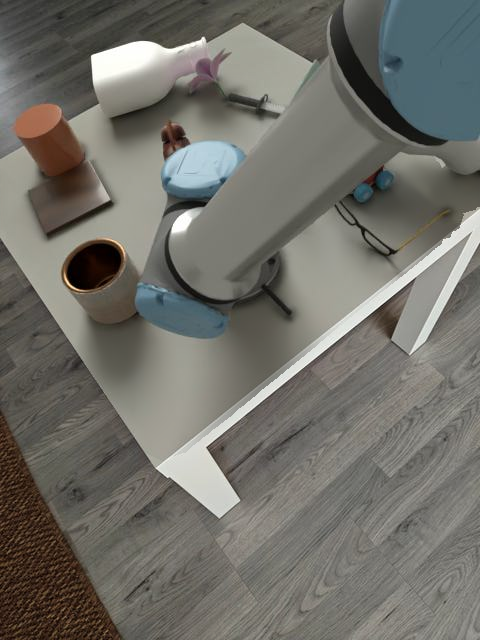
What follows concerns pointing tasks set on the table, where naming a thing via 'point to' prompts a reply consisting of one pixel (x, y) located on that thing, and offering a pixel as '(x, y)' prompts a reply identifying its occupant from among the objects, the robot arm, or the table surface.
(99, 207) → the brown wooden square plate
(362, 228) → the eyeglasses
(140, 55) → the bottle
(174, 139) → the alarm clock
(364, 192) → the toy car
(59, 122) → the copper solid cylinder
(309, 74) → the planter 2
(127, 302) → the planter
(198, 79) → the lily
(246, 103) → the knife
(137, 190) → the table surface
